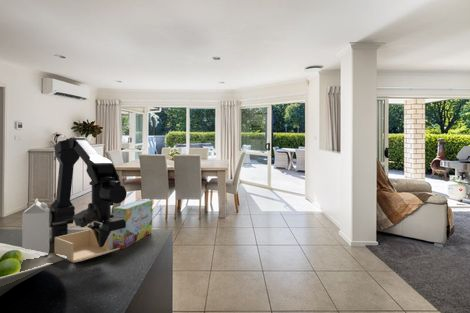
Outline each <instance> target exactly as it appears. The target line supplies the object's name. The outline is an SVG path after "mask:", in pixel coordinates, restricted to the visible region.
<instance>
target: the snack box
mask: <svg viewBox="0 0 470 313" xmlns="http://www.w3.org/2000/svg"><path fill="white" fill-rule="evenodd" d="M112 211H113V213H112V214H113V218H121V219H124V220H125V221H126V228H122V229H118V230H114V231H112V246H111V247H112V248H113V249H116V248H119V250H120V249H122V250H125V249H126V248H129V247H130V246H131V245H133V243H134V244H135V243H137V242H139V241H141V240H142V239H141V238H143V237H144V238H146V237H147V236H146V235H148V234H149V233H151V232H152V226H153V224H152V223H153V199H146V198H145V199H144V198H142V199H138V200H135V201H132V202H129V203H124V204H122V205H119V206H115V207H114V208H113V210H112ZM113 218H112V219H113ZM151 234H152V233H151ZM145 236H146V237H145ZM148 236H149V235H148ZM144 238H143V239H144ZM140 239H141V240H140ZM138 240H139V241H138Z"/></svg>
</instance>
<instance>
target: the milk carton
mask: <svg viewBox="0 0 470 313" xmlns="http://www.w3.org/2000/svg"><path fill="white" fill-rule="evenodd" d="M49 212H50V207H49V204H47V203H46V202H43V201H42V202H40V201H39V199H38V197H37V198H36V199H35V200H34V203H33V204H31V205H30V206H29V207H28V208H26V209H25V210H24V211H23V213H22V215H21V216H22V217H21V220H22V224H21V225H22V226H21V228H22V229H21V230H22V232H21V234H22V235H21V236H22V238H21V240H22V245H21V246H22V247H21V248H25V249H31V250H36V251H41V252H47V253H48V254H49V253H50V241H49V238H50V227H49Z"/></svg>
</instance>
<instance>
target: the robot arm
mask: <svg viewBox="0 0 470 313" xmlns="http://www.w3.org/2000/svg"><path fill="white" fill-rule="evenodd" d="M53 149H54V153H55V154H54V156H55V158H56V160H57V161H58V163H59V167H58V176H57V186H56V196H55V200H54V201H53V202H52V203H51V205H50V206H49V228H50V237H49V243H50V242H51V243H53V244H55V237H59V236H63V235H68V234H69V230H68V228H69V226H68V225H71V224H75V226H76V227H80V228H84V227H87V229H91V230H93V231H94V234H95V236H96V239H97V242H98V245H99V247H103V246H104V244H105V242H106V240H107V238H108V239H109V236H110V234H111V233H112V232H113V231H114V230H118V229H122V228H126V221H125V220H124V219H121V218H113V213H112V212H111V210H112V209H111V207H112V206H114V204H116V205H118V204H121V203H123V202H124V201H125V200H126V197H127V190H126V188H125V187H124V186H123V185H122V182H121V180H120V175H119V174H118V172H117V169H116V167H115V164H114V163H113V161H111V160H110V159H108V158H106V157H103V156H101V155H99V154H98V152H97V151H96V150H95V149H94V148H93V147H92V145H90V143H89V142H88V139H87V138H86V137H83V136H72V137H70V138H67V139H64V140H63V139H62V140H59V141H58V142H56V143H55V144H54V148H53ZM80 158H81V159H82V161H83V162H84V164H85V165H86V172H87V175H88V176H89V178H90V180H91V181H89V186H91V202H88V204H87V208H86V209H83V210H81V211H80V212H78V213H75V212H76V211H75V209H76V208H75V206H74V205H73V203H72V202H71V198H72V196H71V195H72V186H73V175H74V166H75V164H76V163H77V162H78V161H79V160H80Z"/></svg>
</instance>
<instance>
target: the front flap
mask: <svg viewBox="0 0 470 313" xmlns="http://www.w3.org/2000/svg"><path fill="white" fill-rule="evenodd" d="M119 250H120V248H113V249H108V251H105V252H102V253H98V254H95V255H92V256H88V257H85V258H82V259H79V260H75V261H73V262H72V263H78V262H83V261H86V260H89V259H93V258H96V257H99V256H103V255H106V254H109V253H111V252H115V251H119Z"/></svg>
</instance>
